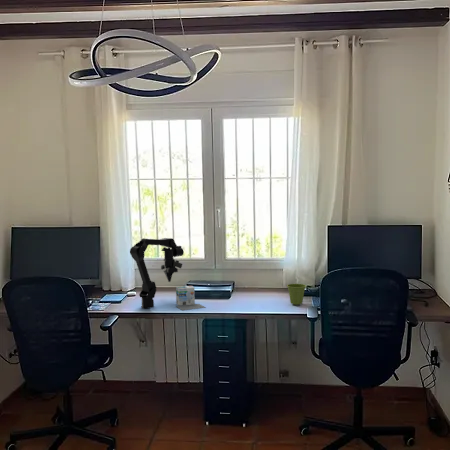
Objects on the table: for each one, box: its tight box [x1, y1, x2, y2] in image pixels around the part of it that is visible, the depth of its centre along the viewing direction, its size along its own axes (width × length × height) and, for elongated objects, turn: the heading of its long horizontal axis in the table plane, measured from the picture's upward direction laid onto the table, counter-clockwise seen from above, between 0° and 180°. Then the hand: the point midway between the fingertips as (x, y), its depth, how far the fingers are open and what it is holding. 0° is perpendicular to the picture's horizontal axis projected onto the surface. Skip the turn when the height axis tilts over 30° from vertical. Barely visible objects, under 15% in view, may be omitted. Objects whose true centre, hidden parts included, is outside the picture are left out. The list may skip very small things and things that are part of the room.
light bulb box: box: [175, 285, 196, 306], centre depth 325 cm, size 11×7×11 cm, turn 110°
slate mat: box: [175, 303, 206, 311], centre depth 317 cm, size 15×11×1 cm
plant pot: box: [286, 283, 307, 305], centre depth 320 cm, size 12×12×11 cm
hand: (169, 281), depth 333 cm, fingers closed
